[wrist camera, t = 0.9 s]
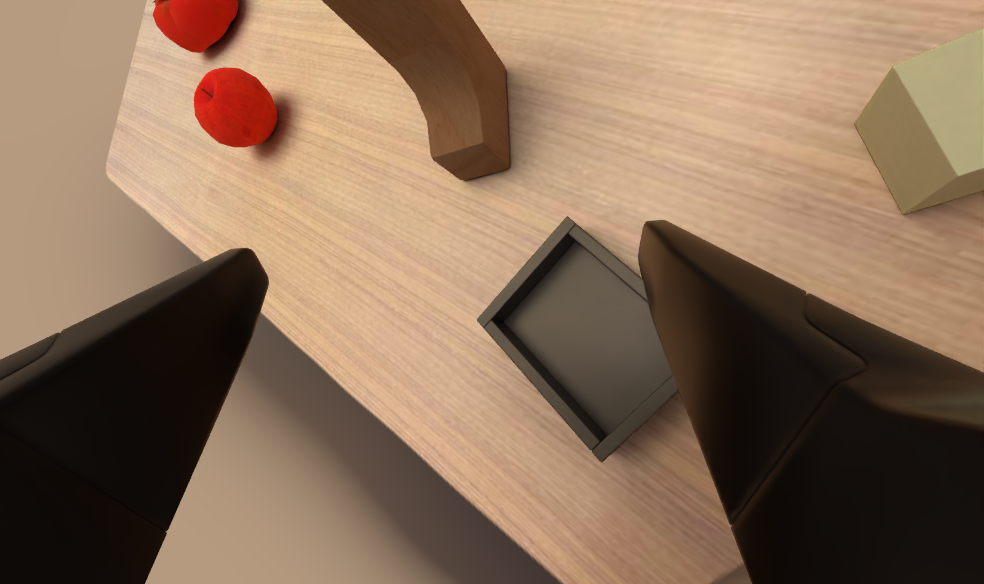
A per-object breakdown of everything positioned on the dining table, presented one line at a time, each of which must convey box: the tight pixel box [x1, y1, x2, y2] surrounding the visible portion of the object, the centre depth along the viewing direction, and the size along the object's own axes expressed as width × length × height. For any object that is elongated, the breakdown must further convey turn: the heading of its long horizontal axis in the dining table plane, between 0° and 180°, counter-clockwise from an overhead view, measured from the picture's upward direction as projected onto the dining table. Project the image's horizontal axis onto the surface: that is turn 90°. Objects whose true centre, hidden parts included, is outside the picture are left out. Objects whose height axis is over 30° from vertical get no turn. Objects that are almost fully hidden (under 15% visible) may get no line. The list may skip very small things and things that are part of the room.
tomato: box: [152, 0, 238, 53], centre depth 52 cm, size 10×11×6 cm
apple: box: [194, 68, 278, 147], centre depth 43 cm, size 8×8×7 cm
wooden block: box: [322, 0, 510, 180], centre depth 25 cm, size 9×4×18 cm, turn 2°
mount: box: [477, 217, 679, 462], centre depth 25 cm, size 12×9×3 cm
